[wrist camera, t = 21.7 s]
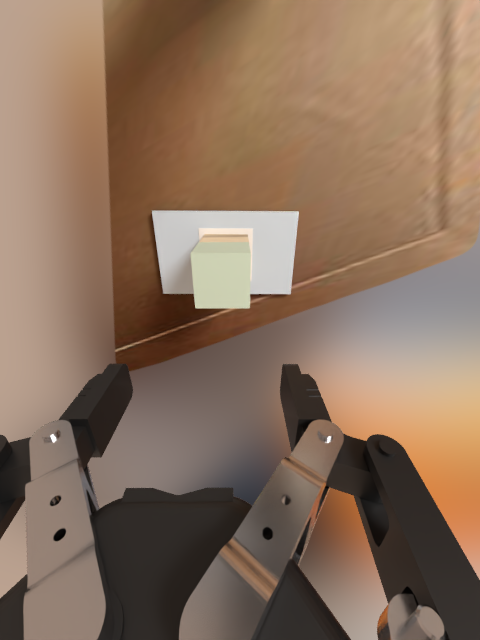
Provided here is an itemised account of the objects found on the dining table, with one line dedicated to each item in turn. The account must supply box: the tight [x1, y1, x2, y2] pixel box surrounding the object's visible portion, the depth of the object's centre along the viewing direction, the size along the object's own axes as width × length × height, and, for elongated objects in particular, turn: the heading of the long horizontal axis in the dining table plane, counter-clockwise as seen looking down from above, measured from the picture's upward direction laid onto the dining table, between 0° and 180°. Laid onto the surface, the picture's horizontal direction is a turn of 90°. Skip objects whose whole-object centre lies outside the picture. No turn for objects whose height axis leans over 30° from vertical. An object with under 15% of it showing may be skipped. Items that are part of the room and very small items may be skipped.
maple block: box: [199, 234, 249, 242], centre depth 35 cm, size 6×6×6 cm
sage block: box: [190, 242, 251, 308], centre depth 30 cm, size 6×6×6 cm
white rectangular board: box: [152, 210, 299, 294], centre depth 38 cm, size 12×20×1 cm, turn 90°
